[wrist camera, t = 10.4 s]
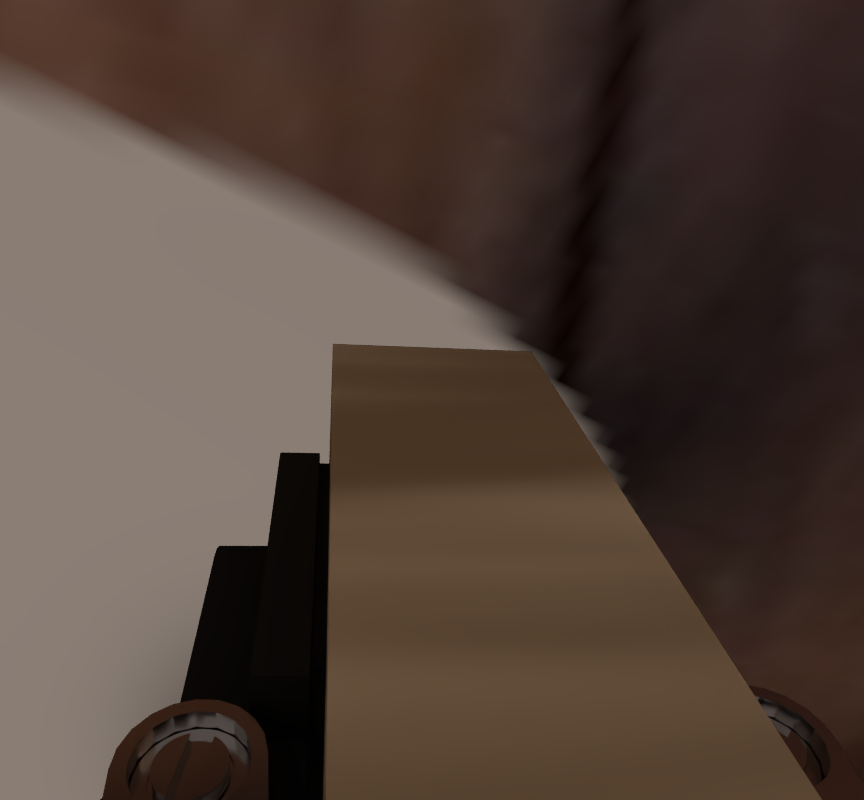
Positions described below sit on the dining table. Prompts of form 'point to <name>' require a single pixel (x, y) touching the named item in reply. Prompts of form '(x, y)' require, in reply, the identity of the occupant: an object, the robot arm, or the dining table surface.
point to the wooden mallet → (511, 606)
